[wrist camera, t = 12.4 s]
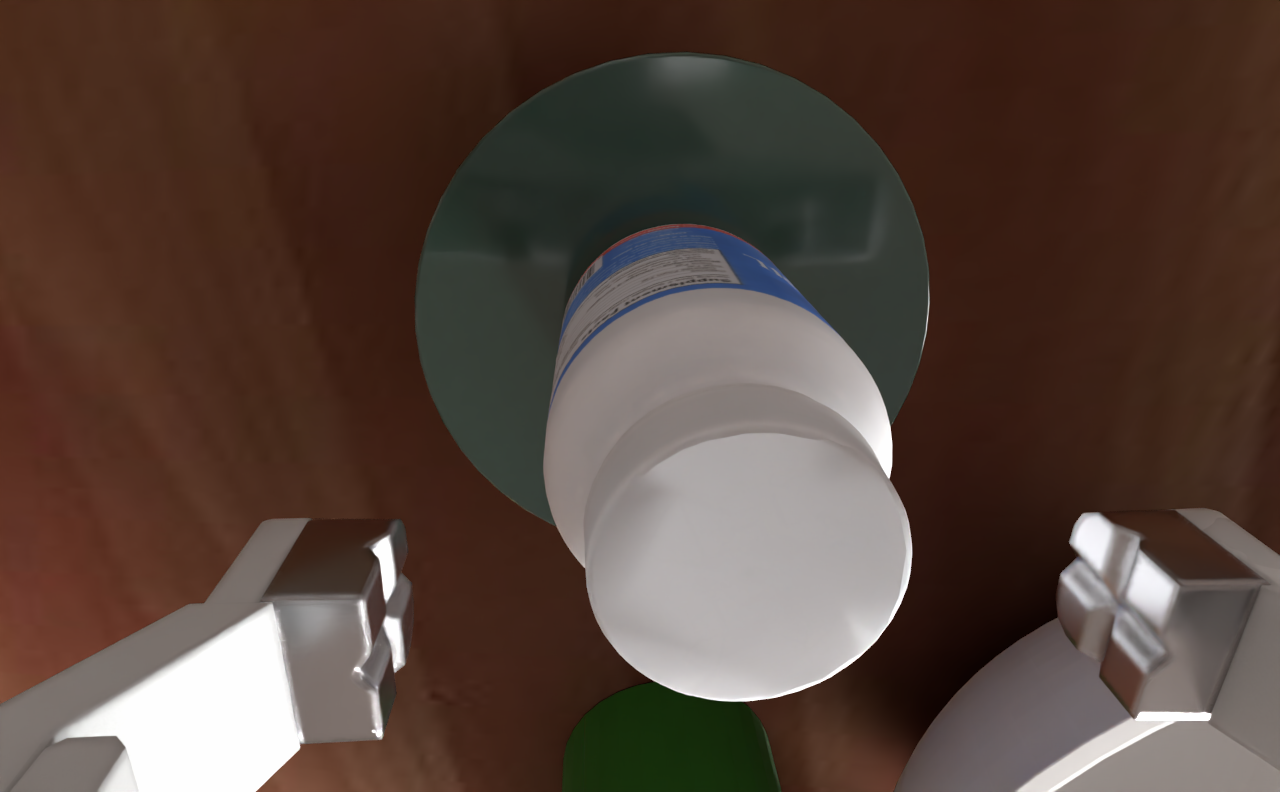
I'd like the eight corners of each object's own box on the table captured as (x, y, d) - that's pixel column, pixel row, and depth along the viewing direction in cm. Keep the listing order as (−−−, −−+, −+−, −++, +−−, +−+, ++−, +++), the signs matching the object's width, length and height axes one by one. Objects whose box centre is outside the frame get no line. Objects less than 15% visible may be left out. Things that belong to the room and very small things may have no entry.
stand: (442, 49, 22) (388, 44, 16) (877, 59, 22) (974, 58, 17) (469, 447, 26) (434, 554, 21) (829, 446, 27) (892, 549, 21)
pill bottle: (822, 391, 19) (1016, 675, 10) (615, 470, 20) (632, 805, 11) (748, 175, 17) (913, 297, 8) (521, 270, 18) (447, 479, 9)
